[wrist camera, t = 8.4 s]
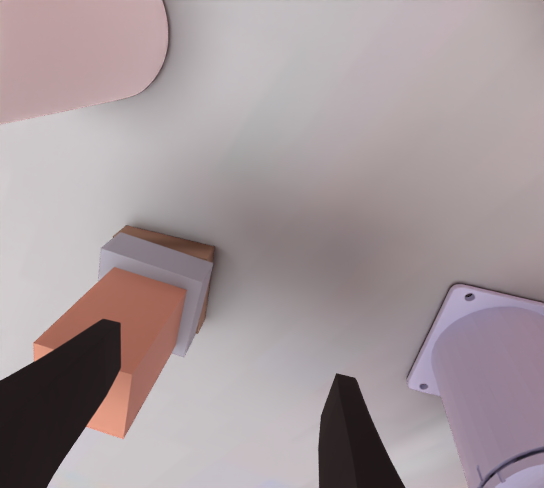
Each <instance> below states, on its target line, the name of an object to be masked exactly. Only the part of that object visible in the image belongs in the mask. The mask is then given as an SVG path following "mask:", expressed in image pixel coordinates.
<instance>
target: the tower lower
mask: <svg viewBox="0 0 544 488" xmlns="http://www.w3.org/2000/svg"><path fill="white" fill-rule="evenodd" d="M120 232H122V233H125V234H128V235H131V236H134V237H137V238H140V239H143V240H146V241H149V242H152V243H155V244H158V245H161V246H164V247H167V248H170V249H173V250H176V251H179V252H181V253H184V254H187V255H190V256H193V257H196V258H199V259H202V260H205V261H208V262H211V263H213V256H214V248H215V247H214V246H210V245H206V244H202V243H198V242H193V241H189V240H185V239H181V238H177V237H173V236H168V235H164V234H160V233H156V232H152V231H148V230H143V229H139V228H135V227H131V226H127V225H126V226H125V227H124V228H122V229H121V230H120V231H119V232H118V233H116V234H115V235H114V236H113V238H114V237H115V236H116V235H117V234H119V233H120ZM210 279H211V276H210ZM209 286H210V280H209V284H208V287H207V291H206V295H205V299H204V303H203V307H202V311H201V315H200V318H199V322H198V326H197V330H196V334H198V332H199V330H200V328H201V326H202V324H203V322H204V320H205V316H206V309H207V301H208V294H209Z"/></svg>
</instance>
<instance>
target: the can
mask: <svg viewBox="0 0 544 488" xmlns="http://www.w3.org/2000/svg"><path fill="white" fill-rule="evenodd" d="M167 46H168V23H167V17H166V12H165V8H164V5H163V2H162V0H0V124H5V123H10V122H15V121H20V120H25V119H30V118H35V117H40V116H45V115H49V114H54V113H59V112H64V111H69V110H73V109H78V108H83V107H88V106H92V105H97V104H102V103H106V102H111V101H116V100H120V99H124V98H128V97H131V96H134V95H136V94H138V93H140V92H141V91H143V90H144V89H145V88H146V87H148V86H149V85H150V83H151V82H152V81H153V80H154V78H155V77H156V76H157V74H158V73H159V71H160V69H161V67H162V65H163V63H164V60H165V56H166V52H167Z"/></svg>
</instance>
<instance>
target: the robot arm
mask: <svg viewBox="0 0 544 488" xmlns="http://www.w3.org/2000/svg"><path fill="white" fill-rule="evenodd" d="M469 293H472V295H471V296H470V297H465V295H466V294H469ZM120 369H121V323H120V322H116V321H112V320H107V319H101V320H100V321H98V322H96V323H95V324H93V325H92V326H90V327H89V328H87V329H86V330H84V331H82V332H81V333H79V334H78V335H76V336H75V337H73V338H72V339H70V340H68V341H67V342H65V343H64V344H62V345H61V346H59V347H57V348H56V349H54V350H53V351H51V352H49V353H48V354H46V355H44V356H43V357H41V358H40V359H38V360H36V361H35V362H33V363H31V364H29V365H27V366H26V367H24V368H22V369H20V370H19V371H17V372H15V373H13V374H12V375H10V376H8V377H6V378H4V379H2V380H1V381H0V488H47V486H48V484H49V482H50V481H51V479H52V477H53V475H54V474H55V472H56V470H57V469H58V467H59V466H60V464H61V463H62V461H63V459H64V458H65V457H66V455H67V454H68V452H69V451H70V449H71V448H72V446H73V445H74V443H75V442H76V440H77V439H78V437H79V436H80V435H81V433H82V432H83V430H84V429H85V427H86V426H87V424H88V423H89V421H90V420H91V418H92V417H93V415H94V414H95V413H96V411H97V410H98V408H99V407H100V405H101V404H102V402H103V401H104V399H105V398H106V396H107V394H108V392H109V390H110V388H111V387H112V385H113V383H114V381H115V379H116V377H117V375H118V373H119V371H120ZM421 384H424V385H421ZM407 385H408V387H409V388H410V389H413V390H417V391H421V392H425V393H429V394H433V395H437V396H441V399H442V402H443V405H444V408H445V412H446V415H447V418H448V421H449V425H450V428H451V431H452V435H453V438H454V441H455V444H456V448H457V451H458V454H459V457H460V461H461V464H462V467H463V470H464V474H465V477H466V480H467V484H468V487H469V488H544V303H541V302H537V301H533V300H528V299H524V298H520V297H515V296H511V295H507V294H502V293H498V292H494V291H489V290H485V289H481V288H476V287H472V286H468V285H464V284H457V285H454V286H453V287H451V289H450V290H449V292H448V295H447V297H446V299H445V301H444V303H443V305H442V307H441V309H440V311H439V313H438V315H437V317H436V320H435V322H434V324H433V326H432V328H431V330H430V332H429V334H428V336H427V338H426V340H425V342H424V345H423V347H422V349H421V351H420V353H419V355H418V357H417V359H416V361H415V363H414V365H413V367H412V369H411V372H410V374H409V376H408V378H407ZM318 454H319V488H405V486H404V484H403V482H402V481H401V479H400V477H399V475H398V473H397V471H396V469H395V467H394V466H393V464H392V462H391V460H390V458H389V456H388V454H387V452H386V450H385V448H384V445H383V443H382V441H381V439H380V437H379V434H378V432H377V430H376V428H375V426H374V423H373V421H372V419H371V416H370V414H369V411H368V409H367V406H366V404H365V401H364V399H363V396H362V393H361V391H360V388H359V385H358V382H357V380H356V379H355V378H354V377H349V376H345V375H341V374H337V373H336V375H335V378H334V381H333V384H332V387H331V389H330V392H329V395H328V398H327V401H326V403H325V406H324V409H323V412H322V415H321V422H320V433H319V447H318Z"/></svg>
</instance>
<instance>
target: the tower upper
mask: <svg viewBox="0 0 544 488" xmlns="http://www.w3.org/2000/svg"><path fill="white" fill-rule="evenodd" d="M213 264H214V263H211V262H208V261H205V260H202V259H199V258H196V257H193V256H190V255H187V254H184V253H181V252H179V251H176V250H173V249H170V248H167V247H164V246H161V245H158V244H155V243H152V242H149V241H146V240H143V239H140V238H137V237H134V236H131V235H128V234H125V233H122V232H120V233H119V234H117V235H116V236H115V237H114V238H113V239H111V240H110V241H109V242H108V243H107V244H105V245H104V246H103V247H102V248H101V252H100V264H99V275H98V282H99V281H100V280H101V279H102V278H103V277H104V276H105V275H106V274H107V273H108V272H109V271H110V270H111V269H112V268H113V267H116V268H119V269H122V270H126V271H129V272H132V273H135V274H138V275H142V276H145V277H148V278H151V279H154V280H157V281H161V282H164V283H167V284H170V285H173V286H176V287H179V288H182V289H186V290H187V292H186V297H185V302H184V307H183V312H182V317H181V322H180V327H179V332H178V337H177V342H176V346H175V348H174V350H173V351H172V354H175V355H178V356H181V357H185V355H186V353H187V351H188V348H189V346H190V344H191V342H192V340H193V338H194V336H195V334H196V330H197V326H198V322H199V318H200V315H201V311H202V307H203V303H204V299H205V295H206V291H207V287H208V284H209V280H210V276H211V272H212V268H213Z"/></svg>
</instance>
